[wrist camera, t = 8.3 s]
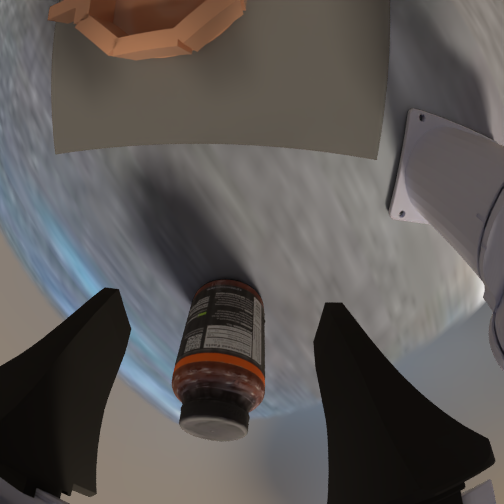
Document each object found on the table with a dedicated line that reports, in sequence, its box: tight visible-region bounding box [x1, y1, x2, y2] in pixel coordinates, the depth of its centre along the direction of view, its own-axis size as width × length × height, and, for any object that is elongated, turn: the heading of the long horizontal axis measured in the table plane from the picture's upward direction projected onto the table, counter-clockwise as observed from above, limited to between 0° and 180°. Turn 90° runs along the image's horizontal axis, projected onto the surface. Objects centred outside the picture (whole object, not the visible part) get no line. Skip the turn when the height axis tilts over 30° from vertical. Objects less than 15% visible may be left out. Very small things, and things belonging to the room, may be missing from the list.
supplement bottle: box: [172, 279, 265, 441], centre depth 18 cm, size 6×6×11 cm
